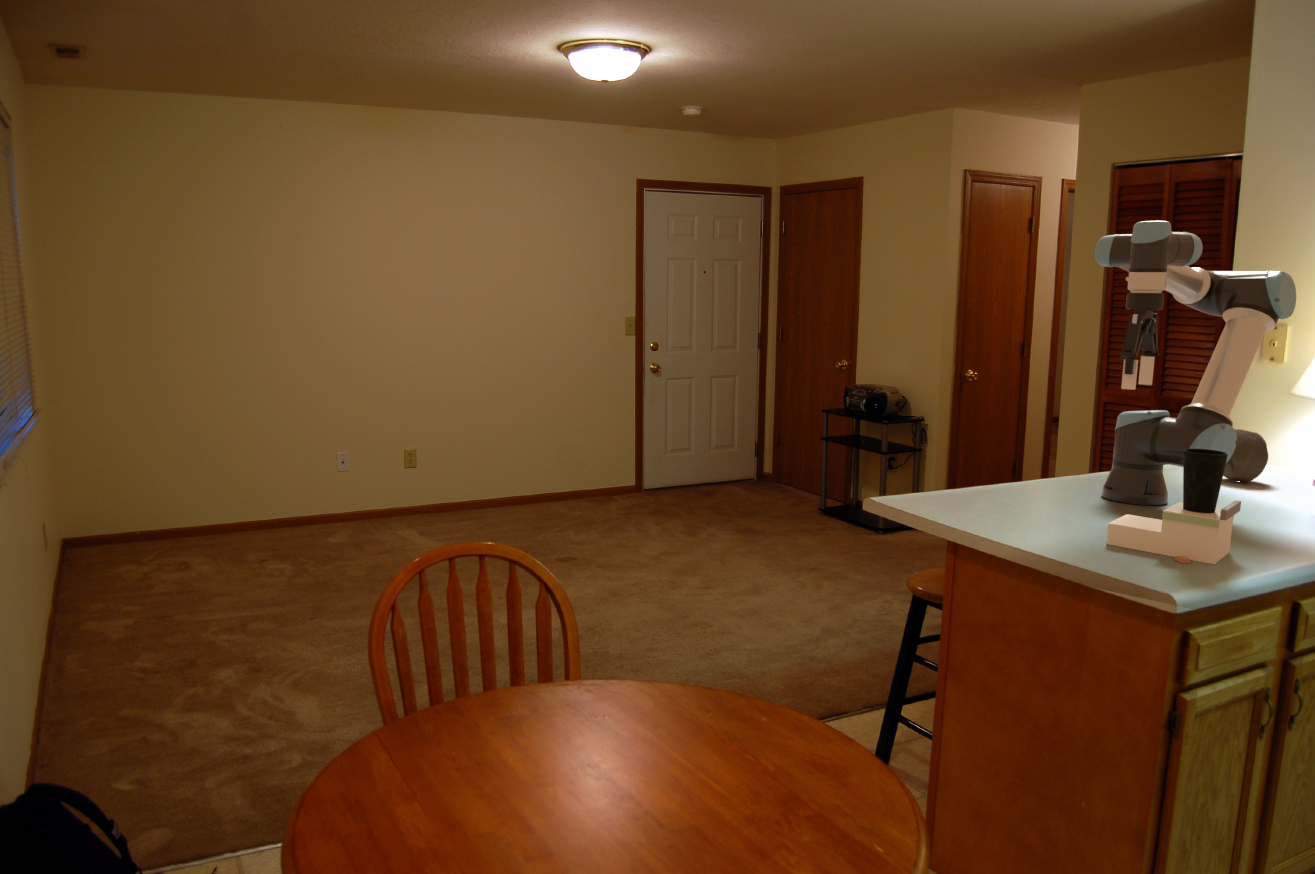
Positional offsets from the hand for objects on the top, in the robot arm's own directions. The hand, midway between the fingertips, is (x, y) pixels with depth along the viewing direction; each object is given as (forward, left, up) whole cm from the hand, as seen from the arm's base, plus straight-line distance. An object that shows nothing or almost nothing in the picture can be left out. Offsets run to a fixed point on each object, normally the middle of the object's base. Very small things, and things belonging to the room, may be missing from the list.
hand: (1136, 387), depth 210 cm
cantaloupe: (-78, +7, -32) cm, 85 cm away
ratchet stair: (+20, +15, -31) cm, 40 cm away
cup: (+19, +19, -23) cm, 35 cm away
